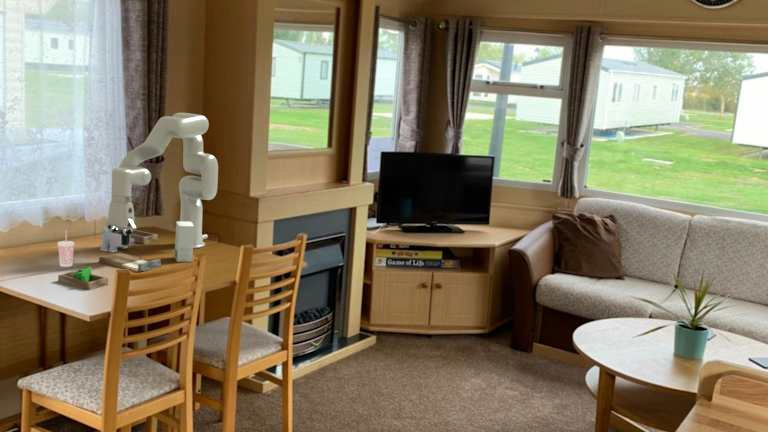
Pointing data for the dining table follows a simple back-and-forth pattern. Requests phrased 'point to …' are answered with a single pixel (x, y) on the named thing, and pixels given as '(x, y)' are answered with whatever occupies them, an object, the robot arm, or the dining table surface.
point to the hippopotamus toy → (107, 242)
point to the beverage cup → (66, 252)
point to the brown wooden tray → (95, 281)
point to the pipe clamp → (83, 274)
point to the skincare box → (184, 241)
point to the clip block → (117, 238)
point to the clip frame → (143, 237)
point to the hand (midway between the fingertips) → (120, 243)
